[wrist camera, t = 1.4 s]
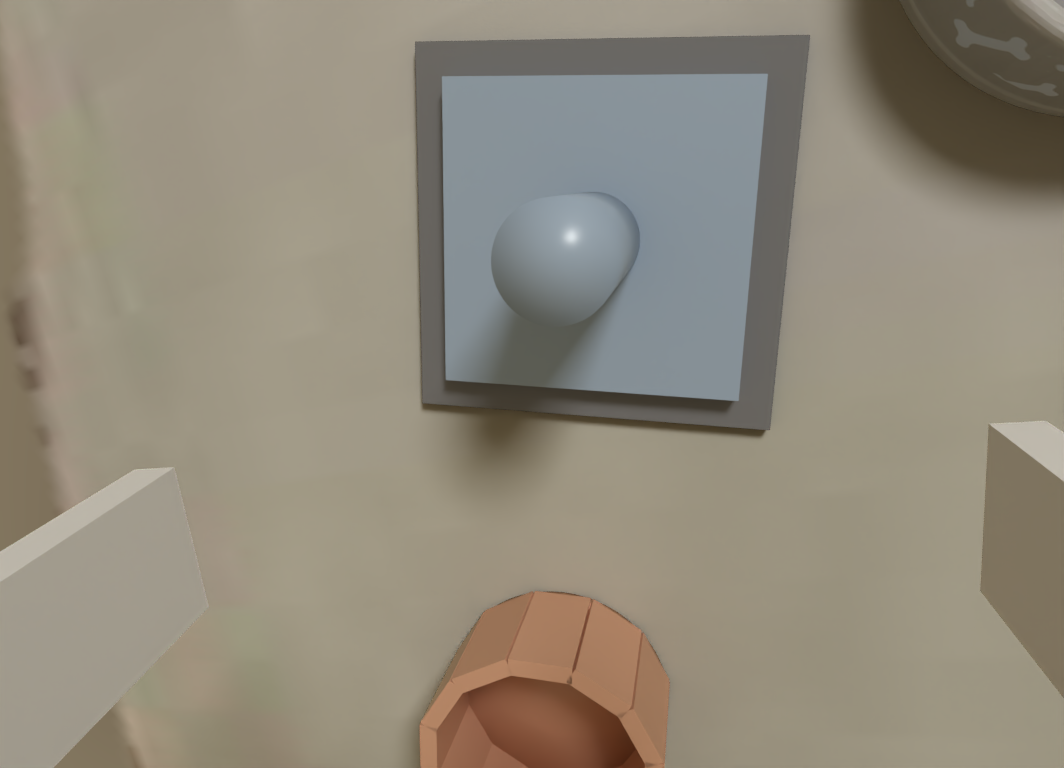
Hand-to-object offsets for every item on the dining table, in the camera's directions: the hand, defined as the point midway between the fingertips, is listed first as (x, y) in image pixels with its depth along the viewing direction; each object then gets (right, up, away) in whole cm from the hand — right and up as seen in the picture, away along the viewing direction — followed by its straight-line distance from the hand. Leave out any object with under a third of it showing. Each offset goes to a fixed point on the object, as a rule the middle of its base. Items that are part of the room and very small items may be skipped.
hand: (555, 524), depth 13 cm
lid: (+2, +8, +21) cm, 23 cm away
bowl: (+1, -13, +28) cm, 31 cm away
